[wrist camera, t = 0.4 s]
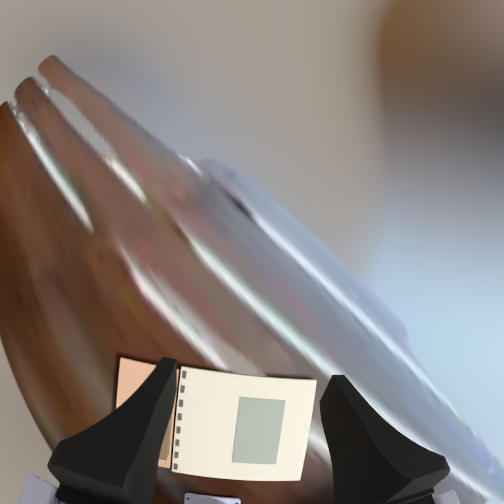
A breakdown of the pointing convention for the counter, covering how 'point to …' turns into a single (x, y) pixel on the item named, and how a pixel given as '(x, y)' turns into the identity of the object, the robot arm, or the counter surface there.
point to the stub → (128, 383)
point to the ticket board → (241, 425)
